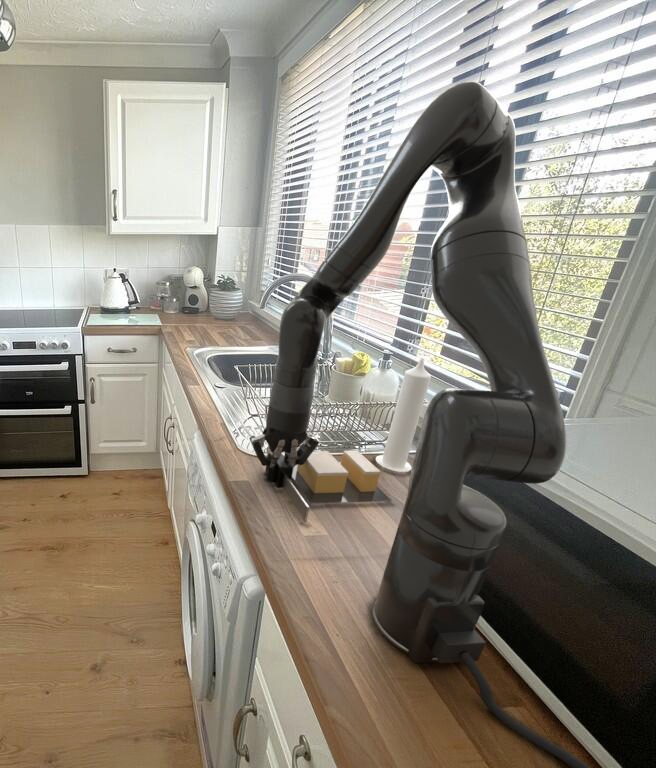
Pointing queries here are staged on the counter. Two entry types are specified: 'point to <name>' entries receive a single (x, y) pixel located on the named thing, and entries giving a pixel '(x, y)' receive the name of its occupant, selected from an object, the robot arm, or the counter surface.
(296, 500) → the knife
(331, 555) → the counter surface
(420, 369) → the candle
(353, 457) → the slice
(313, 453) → the tan rectangular block
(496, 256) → the robot arm
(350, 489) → the board
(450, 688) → the counter surface
